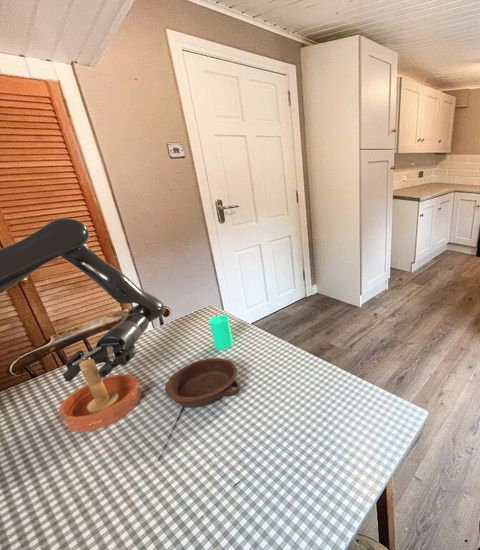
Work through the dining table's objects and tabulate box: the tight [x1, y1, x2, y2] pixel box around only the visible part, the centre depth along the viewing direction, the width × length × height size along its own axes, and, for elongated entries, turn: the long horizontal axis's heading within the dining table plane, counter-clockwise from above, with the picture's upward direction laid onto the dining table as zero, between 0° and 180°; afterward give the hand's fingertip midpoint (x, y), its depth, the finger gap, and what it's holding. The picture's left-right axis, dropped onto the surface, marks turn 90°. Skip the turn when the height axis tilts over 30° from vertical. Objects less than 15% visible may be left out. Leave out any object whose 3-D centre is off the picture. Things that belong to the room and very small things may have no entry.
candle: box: [208, 314, 234, 350], centre depth 105 cm, size 6×6×12 cm
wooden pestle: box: [79, 358, 121, 415], centre depth 77 cm, size 6×6×14 cm
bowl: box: [58, 373, 143, 433], centre depth 80 cm, size 16×16×5 cm
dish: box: [164, 357, 241, 409], centre depth 86 cm, size 18×22×5 cm
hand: (84, 376), depth 74 cm, fingers open, 7 cm apart
